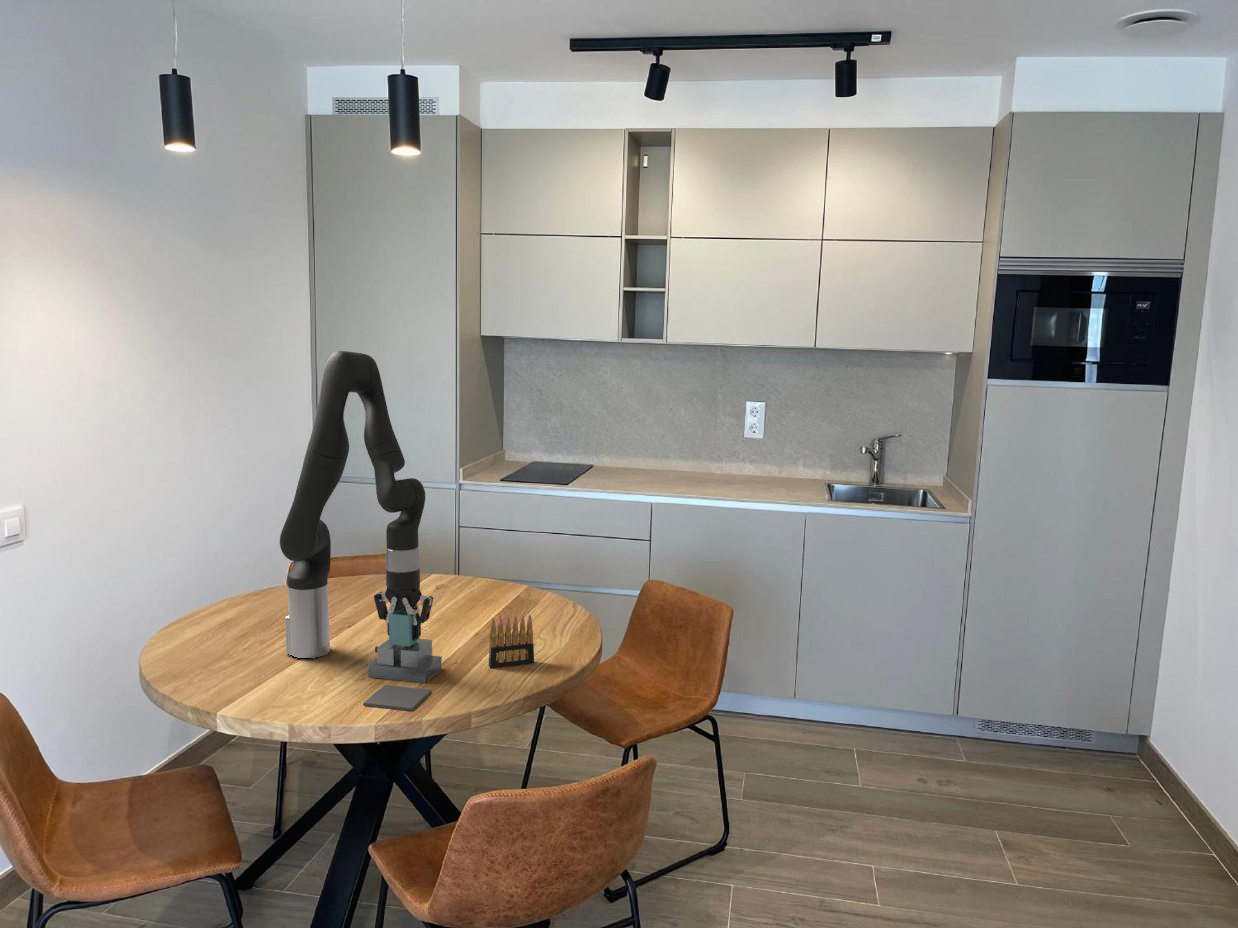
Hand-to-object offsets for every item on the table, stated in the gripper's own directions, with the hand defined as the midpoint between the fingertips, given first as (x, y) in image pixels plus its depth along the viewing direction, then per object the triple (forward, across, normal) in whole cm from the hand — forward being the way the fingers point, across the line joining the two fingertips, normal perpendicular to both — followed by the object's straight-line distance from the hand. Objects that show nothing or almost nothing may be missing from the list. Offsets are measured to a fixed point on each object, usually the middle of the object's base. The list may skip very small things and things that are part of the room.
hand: (404, 637), depth 205 cm
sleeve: (+1, 0, 0) cm, 1 cm away
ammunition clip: (+9, -22, -11) cm, 26 cm away
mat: (+8, -5, +14) cm, 17 cm away
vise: (+8, 0, 0) cm, 8 cm away
